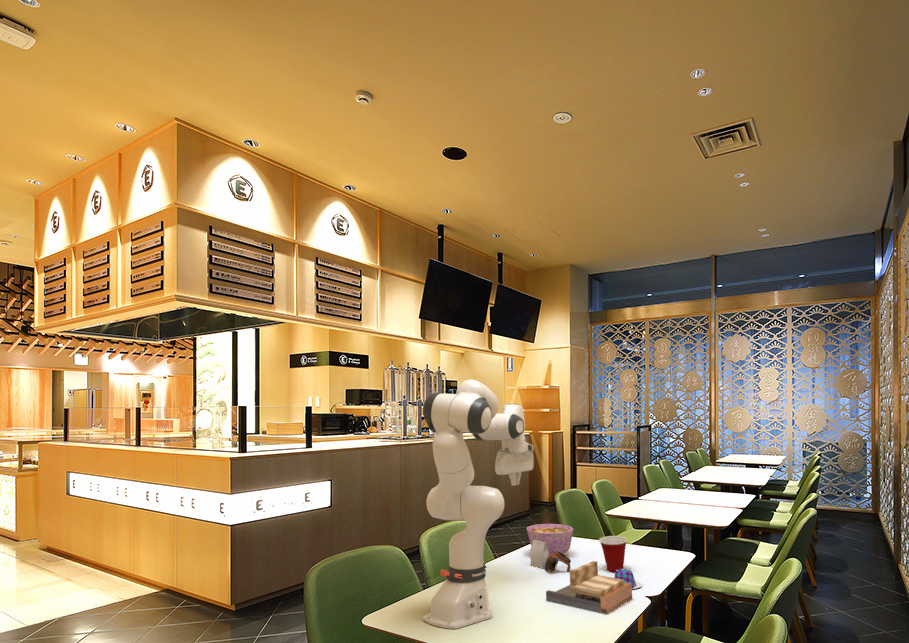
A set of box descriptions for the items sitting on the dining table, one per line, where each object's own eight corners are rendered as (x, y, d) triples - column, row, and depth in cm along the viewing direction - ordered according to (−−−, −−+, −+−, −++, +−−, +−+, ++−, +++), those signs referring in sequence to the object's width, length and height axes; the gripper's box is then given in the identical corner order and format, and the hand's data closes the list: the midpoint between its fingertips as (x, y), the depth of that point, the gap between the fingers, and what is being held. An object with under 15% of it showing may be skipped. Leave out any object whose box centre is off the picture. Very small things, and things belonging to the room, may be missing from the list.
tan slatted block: (601, 606, 186) (600, 576, 187) (570, 599, 193) (569, 571, 195) (624, 593, 198) (622, 565, 199) (594, 587, 205) (593, 560, 207)
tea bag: (543, 569, 236) (541, 543, 237) (530, 566, 241) (529, 540, 242) (549, 567, 238) (548, 541, 239) (537, 564, 243) (536, 539, 245)
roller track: (607, 614, 184) (606, 597, 184) (546, 600, 198) (545, 584, 199) (632, 599, 197) (631, 583, 198) (573, 587, 212) (573, 572, 212)
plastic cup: (594, 571, 232) (593, 538, 233) (611, 565, 239) (609, 534, 240) (619, 576, 224) (617, 543, 225) (634, 570, 231) (632, 538, 232)
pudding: (645, 583, 215) (644, 568, 216) (637, 593, 205) (636, 577, 205) (612, 579, 221) (611, 564, 222) (603, 588, 211) (602, 572, 211)
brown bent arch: (547, 567, 240) (556, 549, 241) (567, 581, 235) (576, 562, 235) (536, 566, 230) (546, 547, 231) (557, 581, 225) (567, 561, 226)
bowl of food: (548, 548, 270) (547, 522, 271) (584, 556, 254) (582, 528, 256) (517, 556, 257) (516, 528, 259) (553, 565, 242) (551, 535, 243)
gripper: (504, 449, 214) (505, 489, 212) (535, 445, 230) (537, 482, 228) (490, 449, 218) (491, 487, 216) (522, 445, 234) (523, 481, 232)
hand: (515, 485), depth 222 cm, fingers closed
